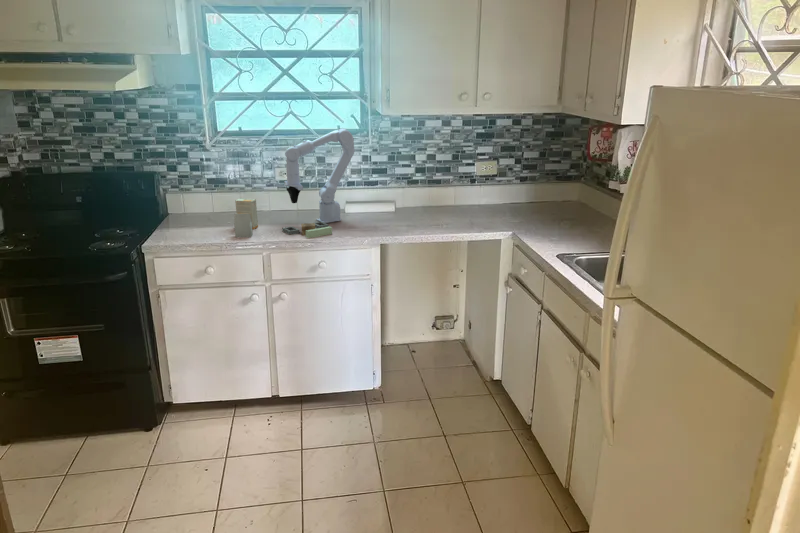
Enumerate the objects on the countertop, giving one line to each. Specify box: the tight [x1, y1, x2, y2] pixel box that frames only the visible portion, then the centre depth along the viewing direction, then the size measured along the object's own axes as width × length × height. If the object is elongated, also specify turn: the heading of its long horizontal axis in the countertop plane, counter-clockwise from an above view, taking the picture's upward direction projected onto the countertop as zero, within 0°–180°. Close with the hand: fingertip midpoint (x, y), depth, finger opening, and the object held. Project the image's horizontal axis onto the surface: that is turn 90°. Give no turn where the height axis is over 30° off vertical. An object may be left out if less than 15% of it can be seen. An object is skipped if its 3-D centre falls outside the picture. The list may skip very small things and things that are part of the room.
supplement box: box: [234, 197, 259, 230], centre depth 273 cm, size 8×5×13 cm, turn 74°
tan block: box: [300, 222, 316, 236], centre depth 267 cm, size 6×5×4 cm
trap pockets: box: [281, 221, 333, 239], centre depth 269 cm, size 20×16×3 cm
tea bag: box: [233, 213, 253, 238], centre depth 260 cm, size 4×7×10 cm, turn 93°
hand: (294, 202), depth 281 cm, fingers closed
